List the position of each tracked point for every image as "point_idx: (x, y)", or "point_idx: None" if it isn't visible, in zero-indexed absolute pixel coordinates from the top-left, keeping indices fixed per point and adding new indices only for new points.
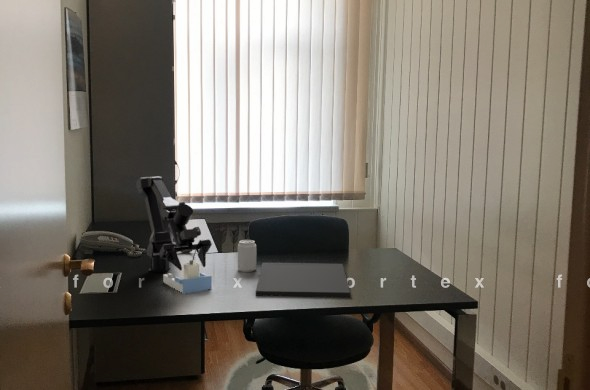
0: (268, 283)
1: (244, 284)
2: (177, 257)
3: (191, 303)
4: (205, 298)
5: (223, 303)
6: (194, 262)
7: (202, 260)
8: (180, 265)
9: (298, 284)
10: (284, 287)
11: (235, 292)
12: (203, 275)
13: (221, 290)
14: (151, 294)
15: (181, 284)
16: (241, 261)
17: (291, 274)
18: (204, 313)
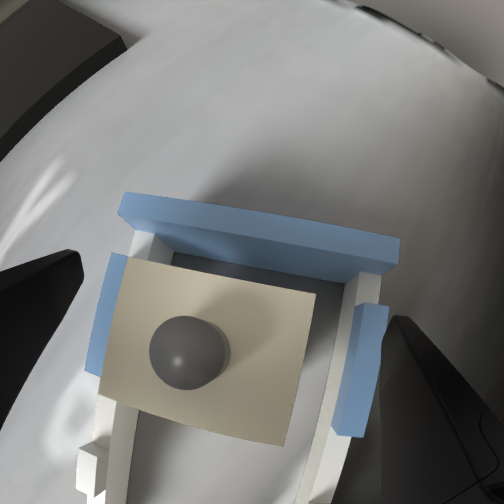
0: (17, 94)
1: (16, 194)
2: (477, 450)
3: (404, 114)
4: (307, 121)
5: (285, 41)
6: (111, 387)
7: (27, 307)
8: (418, 342)
9: (7, 57)
10: (43, 43)
11: (129, 114)
12: None
13: (142, 176)
14: (492, 386)
15: (376, 293)
16: None
17: None
18: (402, 29)
